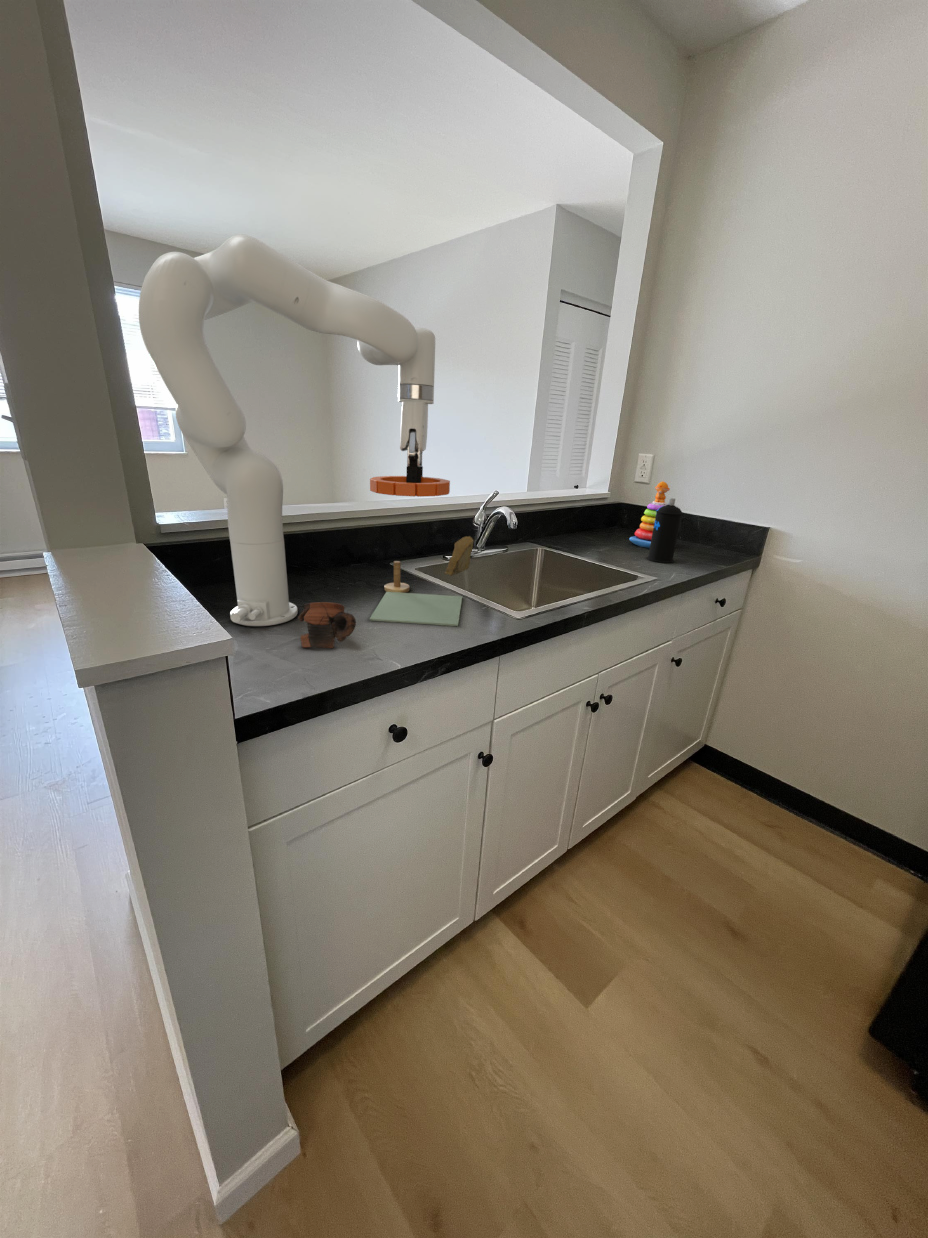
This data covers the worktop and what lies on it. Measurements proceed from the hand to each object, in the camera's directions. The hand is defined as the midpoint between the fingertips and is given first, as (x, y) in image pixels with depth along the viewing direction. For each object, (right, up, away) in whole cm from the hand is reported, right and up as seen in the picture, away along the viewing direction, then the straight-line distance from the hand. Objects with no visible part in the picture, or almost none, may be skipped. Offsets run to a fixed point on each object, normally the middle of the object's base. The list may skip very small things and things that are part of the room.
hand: (414, 484), depth 111 cm
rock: (+9, -17, +27) cm, 33 cm away
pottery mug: (-14, -34, -21) cm, 43 cm away
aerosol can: (+76, -11, +52) cm, 93 cm away
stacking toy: (+81, -3, +74) cm, 110 cm away
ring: (0, -3, -6) cm, 7 cm away
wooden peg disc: (-5, -23, +8) cm, 25 cm away
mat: (+1, -28, -3) cm, 28 cm away
